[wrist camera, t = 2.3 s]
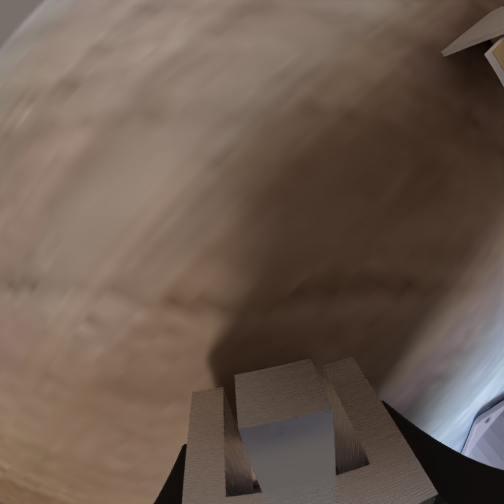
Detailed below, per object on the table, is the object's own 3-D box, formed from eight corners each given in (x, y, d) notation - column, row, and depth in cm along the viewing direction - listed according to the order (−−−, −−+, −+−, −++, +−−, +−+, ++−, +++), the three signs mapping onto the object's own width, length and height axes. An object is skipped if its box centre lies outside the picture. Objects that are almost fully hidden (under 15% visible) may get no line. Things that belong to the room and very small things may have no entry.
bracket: (352, 356, 9) (438, 493, 4) (353, 439, 11) (403, 550, 5) (192, 391, 9) (179, 553, 4) (226, 467, 10) (233, 589, 5)
